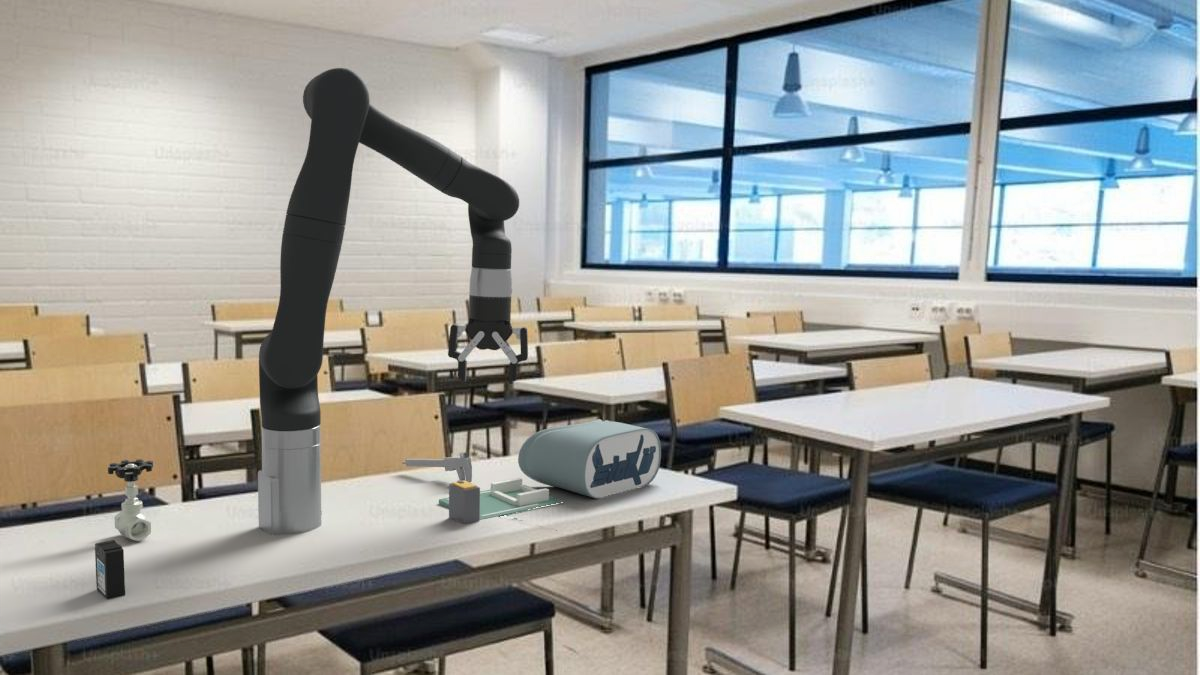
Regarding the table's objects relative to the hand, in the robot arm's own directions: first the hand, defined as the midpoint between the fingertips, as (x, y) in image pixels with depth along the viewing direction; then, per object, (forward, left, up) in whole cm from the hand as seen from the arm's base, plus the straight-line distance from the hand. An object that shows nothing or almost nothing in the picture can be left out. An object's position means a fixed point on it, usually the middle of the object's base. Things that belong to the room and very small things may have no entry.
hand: (487, 382), depth 166 cm
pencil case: (+23, -2, -23) cm, 33 cm away
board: (+1, -3, -23) cm, 23 cm away
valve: (-56, +17, -23) cm, 63 cm away
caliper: (+2, +21, -24) cm, 32 cm away
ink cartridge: (-64, -9, -23) cm, 69 cm away
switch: (-10, -8, -23) cm, 26 cm away
